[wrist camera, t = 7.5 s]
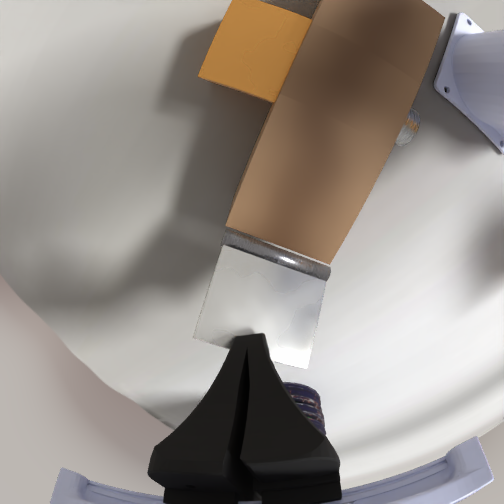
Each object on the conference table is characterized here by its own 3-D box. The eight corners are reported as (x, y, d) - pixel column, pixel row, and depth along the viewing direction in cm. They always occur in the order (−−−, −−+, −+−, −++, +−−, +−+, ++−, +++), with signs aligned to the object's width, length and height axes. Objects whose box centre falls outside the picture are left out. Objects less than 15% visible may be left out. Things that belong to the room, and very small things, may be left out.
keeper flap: (323, 268, 16) (331, 264, 15) (301, 367, 14) (309, 369, 13) (224, 232, 15) (227, 226, 14) (190, 337, 13) (191, 337, 12)
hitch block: (408, 30, 12) (445, 17, 8) (316, 229, 19) (329, 264, 15) (327, -14, 11) (345, -44, 7) (233, 197, 19) (225, 225, 15)
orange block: (210, 81, 15) (197, 76, 12) (240, 13, 13) (235, -6, 10) (383, 157, 17) (407, 170, 14) (412, 95, 14) (440, 97, 11)
